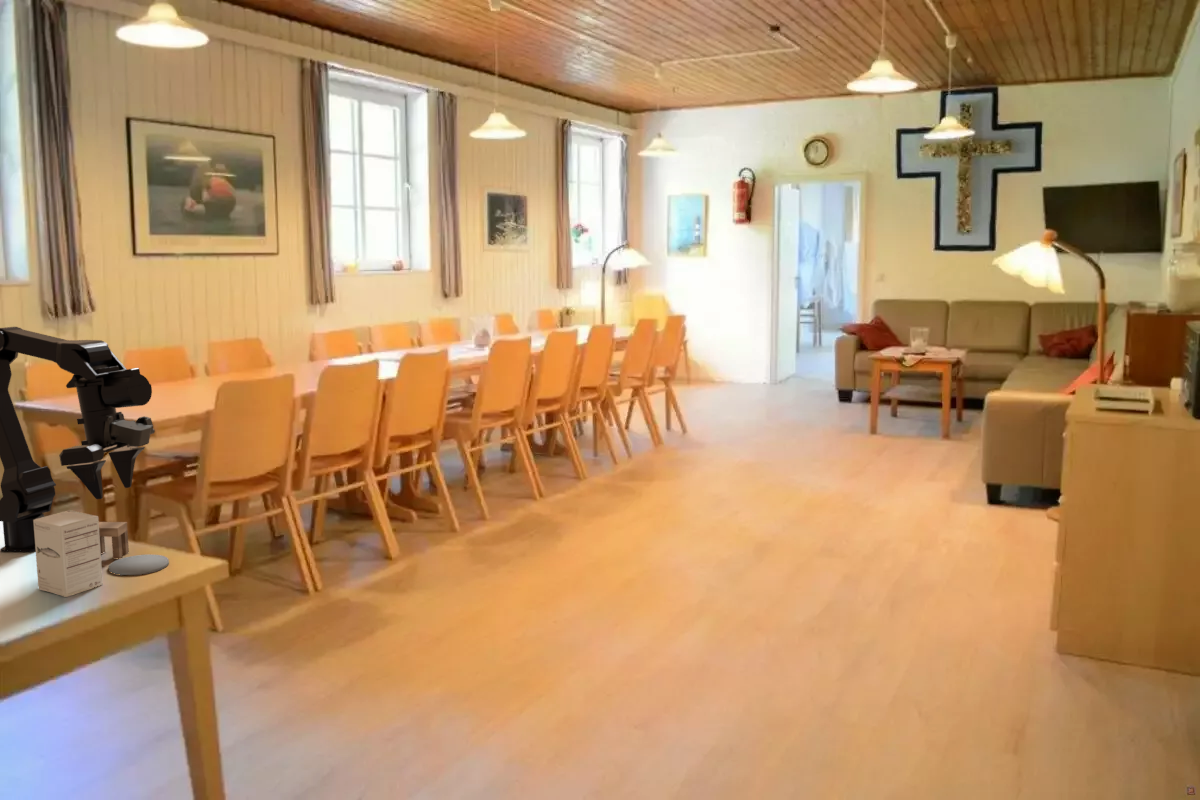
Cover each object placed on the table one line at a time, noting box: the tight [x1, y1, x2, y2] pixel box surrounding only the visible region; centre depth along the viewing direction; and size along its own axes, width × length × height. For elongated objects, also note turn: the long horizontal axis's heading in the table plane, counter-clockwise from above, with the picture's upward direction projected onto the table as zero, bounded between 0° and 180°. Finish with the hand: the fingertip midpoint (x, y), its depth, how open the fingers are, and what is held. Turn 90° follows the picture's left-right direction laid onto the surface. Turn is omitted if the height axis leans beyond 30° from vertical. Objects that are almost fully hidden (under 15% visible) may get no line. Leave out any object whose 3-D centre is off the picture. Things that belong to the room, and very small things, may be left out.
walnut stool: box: [99, 521, 130, 559], centre depth 189 cm, size 6×4×6 cm
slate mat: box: [108, 553, 170, 576], centre depth 183 cm, size 10×10×1 cm
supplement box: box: [33, 509, 103, 598], centre depth 171 cm, size 7×7×13 cm
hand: (114, 493), depth 185 cm, fingers open, 9 cm apart
